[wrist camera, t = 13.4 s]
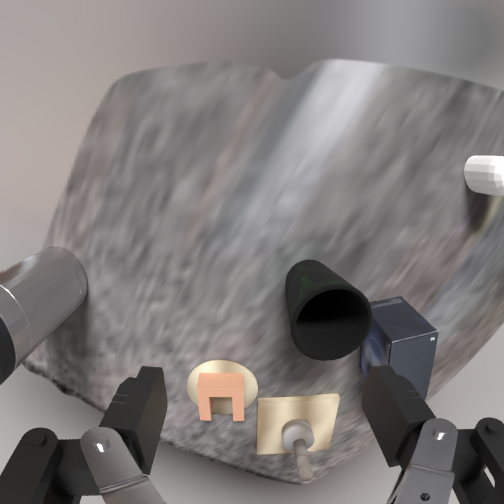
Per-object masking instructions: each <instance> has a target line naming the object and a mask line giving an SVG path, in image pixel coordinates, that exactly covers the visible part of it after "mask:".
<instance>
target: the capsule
mask: <svg viewBox="0 0 504 504" xmlns="http://www.w3.org/2000/svg"><path fill="white" fill-rule="evenodd" d="M464 176H465V181H466V183H467V185H468V187H469V188H470V189H471V190H472V191H474V192H477V193H483V194H489V195H495V196H504V157H503V156H472V157H470V158H469V159H468V161H467V162H466V164H465V169H464Z"/></svg>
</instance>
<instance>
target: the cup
mask: <svg viewBox="0 0 504 504" xmlns="http://www.w3.org/2000/svg"><path fill="white" fill-rule="evenodd" d="M286 290H287V299H288V309H289V318H290V327H291V335H292V338H293V341H294V344H295V345H296V346H297V348H298V349H299V350H300V351H301V352H302V353H303V354H304V355H306V356H308V357H310V358H312V359H316V360H322V361H326V360H335V359H339V358H342V357H344V356H346V355H348V354H350V353H352V352H353V351H354V350H356V349H357V348H358V347H359V346H360V345H361V344H362V343H363V342H364V340H365V339H366V337H367V335H368V334H369V331H370V328H371V325H372V316H373V314H372V309H371V305H370V303H369V301H368V299H367V298H366V297H365V296H364V295H363V294H362V293H361V292H360V291H359V290H358V289H356V288H355V287H354V286H352V285H351V284H349V283H348V282H347V281H345V280H344V279H343V278H341V277H340V276H338V275H337V274H336V273H334V272H333V271H332V270H330V269H329V268H327V267H326V266H325V265H323V264H322V263H320V262H318V261H315V260H304V261H301V262H298V263H297V264H295V265H294V266H293V267H292V268H291V269H290V271H289V272H288V274H287V277H286Z"/></svg>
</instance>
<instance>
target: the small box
mask: <svg viewBox="0 0 504 504" xmlns="http://www.w3.org/2000/svg"><path fill="white" fill-rule="evenodd" d="M370 305H371V309H372V314H373V316H372V325H371V328H370V331H369V334H368V335H367V337H366V339H365V340H364V342H363V343H362V344H361V362H360V367H361V369H362V371H363V373H364V374H365V376H366V378H367V376H368V372H369V369H370V367H372V366H380V365H390V366H391V367H392V368H393V370H394V371H395V373H396V374H397V375H402V376H403V377H405V378H406V379H408V380H409V381H411V383H412V384H413V386H414V387H415V388H416V391H418V393H419V394H420V395H421V397H422V398H423V400H425V399H426V396H427V391H428V387H429V382H430V378H431V372H432V367H433V362H434V357H435V351H436V345H437V338H438V330H437V329H435V328H434V327H433V326H432V325H431V324H430V323H429V322H428V321H427V320H426V319H425V318H424V317H423V316H421V315H420V314H419V313H418V312H417V311H416V310H415V309H414V308H413V307H412V306H411V305H410V304H408V303H407V301H406V300H405V299H404V298H403V297H402V296H401V297H396V298H392V299H386V300H381V301H374V302H370Z"/></svg>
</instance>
